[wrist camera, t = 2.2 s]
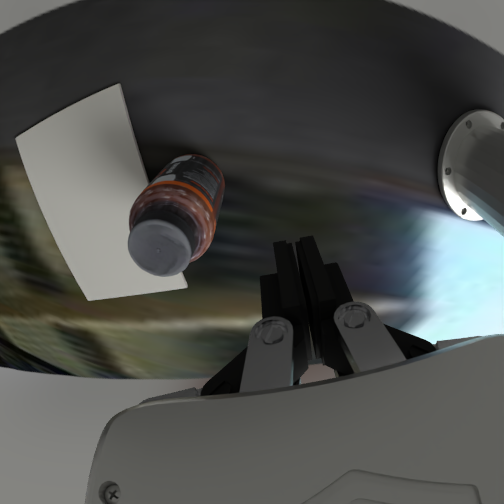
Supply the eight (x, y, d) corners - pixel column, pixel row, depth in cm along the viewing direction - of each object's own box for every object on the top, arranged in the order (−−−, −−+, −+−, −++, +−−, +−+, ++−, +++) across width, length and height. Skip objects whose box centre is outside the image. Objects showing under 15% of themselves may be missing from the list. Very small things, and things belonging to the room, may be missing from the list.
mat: (120, 83, 21) (118, 83, 21) (187, 285, 32) (186, 287, 32) (17, 137, 22) (15, 138, 22) (89, 298, 34) (88, 300, 34)
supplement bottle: (168, 145, 24) (115, 191, 15) (233, 161, 25) (219, 216, 16) (157, 205, 27) (111, 276, 18) (216, 220, 28) (198, 299, 19)
